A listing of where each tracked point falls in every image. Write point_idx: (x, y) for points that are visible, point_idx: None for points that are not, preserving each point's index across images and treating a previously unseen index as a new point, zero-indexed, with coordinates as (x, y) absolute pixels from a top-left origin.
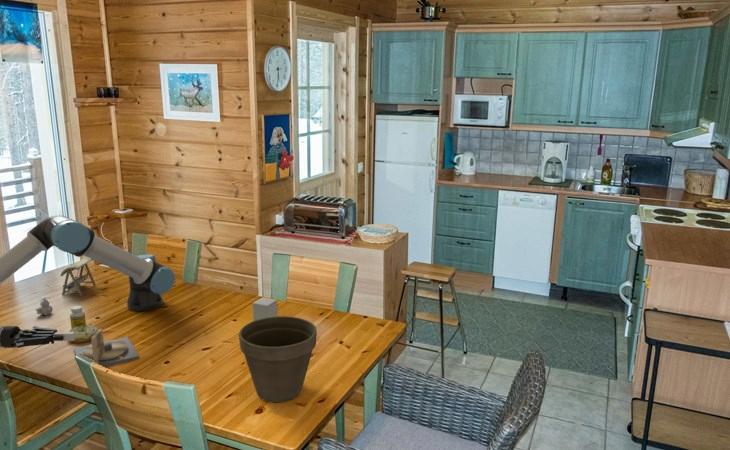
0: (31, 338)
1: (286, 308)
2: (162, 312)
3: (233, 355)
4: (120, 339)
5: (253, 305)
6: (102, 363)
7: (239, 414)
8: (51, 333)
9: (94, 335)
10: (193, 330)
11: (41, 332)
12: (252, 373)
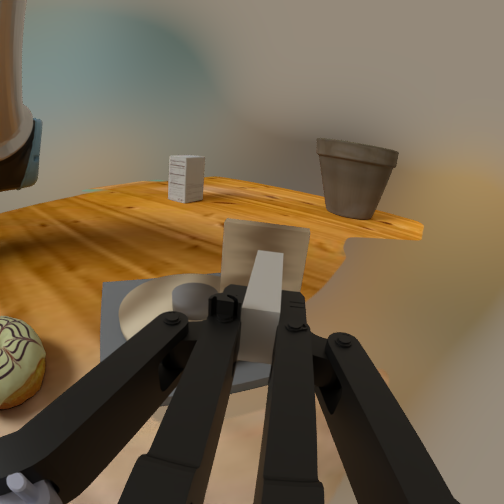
0: (399, 447)
1: (128, 190)
2: (12, 246)
3: (259, 216)
4: (111, 292)
5: (187, 161)
6: None
7: (398, 229)
8: (234, 341)
9: (289, 228)
10: (136, 228)
11: (212, 405)
12: (378, 189)
